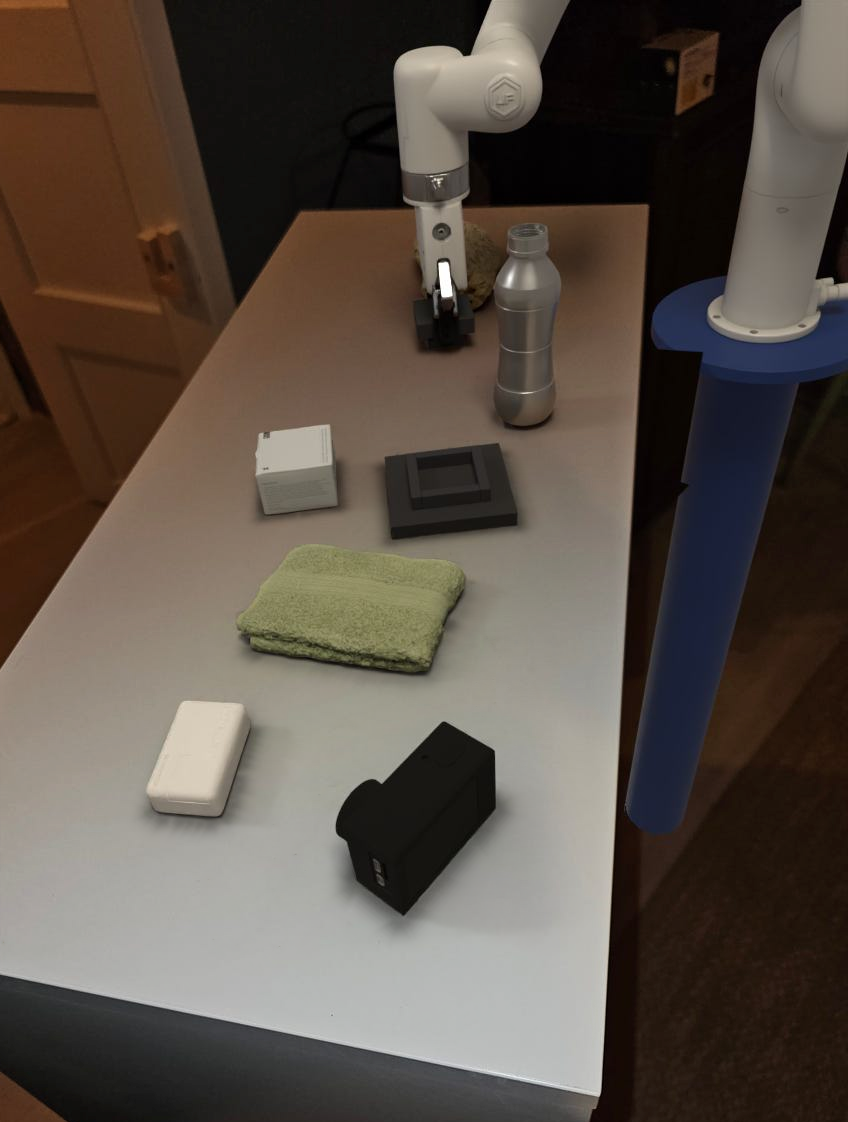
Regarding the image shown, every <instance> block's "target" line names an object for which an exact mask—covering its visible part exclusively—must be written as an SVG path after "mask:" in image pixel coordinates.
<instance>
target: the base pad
mask: <svg viewBox="0 0 848 1122" xmlns="http://www.w3.org/2000/svg"><path fill="white" fill-rule="evenodd" d="M505 464H506V463H505V461H504V456H503V452H502V449H501V445H500V442H493V443H485V444H474V445H466V446H458V447H450V448H442V449H433V450H425V451H417V452H410V453H409V452H407V453H404V454H396V455H387V456H384V467H385V476H386V488H387V498H388V509H389V520H390V530H391V537H392V540H399V539H407V538H416V537H425V536H433V535H441V534H449V533H459V532H467V531H468V532H469V531H475V530H484V529H494V528H501V527H510V526H518V509H517V506H516V502H515V498H514V494H513V490H512V487H511V483H510V480H509V476H508V471H507V468H506V465H505Z"/></svg>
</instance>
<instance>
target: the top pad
mask: <svg viewBox="0 0 848 1122" xmlns="http://www.w3.org/2000/svg"><path fill="white" fill-rule="evenodd" d="M456 299H457V311H458V312H459V327H460V344H459V345H458V346H457V347H460V346H465V335H469V334H471V335H472V334H475V333H476V325H475V324H476V323H475V320H476V319H475V315H474V310H472V307H471V304H470V300H469V297H468V293H465V294H457V295H456ZM439 301H441V297H438V304H439ZM412 308H413V318H414V324H415V329H416V335H417V340H418V341H423V340H426V341H425V342H426V344H427V350H436V349H438V348H435V347H434V339H433V323H432V316H434V307H433V298H427V299H426V298H419V299H413V300H412Z"/></svg>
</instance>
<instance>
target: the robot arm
mask: <svg viewBox="0 0 848 1122" xmlns="http://www.w3.org/2000/svg"><path fill="white" fill-rule="evenodd" d="M570 1H571V0H491V1H490V4H489V7H488V9H487V12H486V15H485V17H484V18H483V19H484V20H483V22H482V24H481V26H480V30H479V32H478V34H477V36H476V39H475V41H474V45H473V47H472V50H471V53H470V55H466V56H465V55H463V54H462V52H461V51H460V50H458V49H457V48H455V47H452V46H448V45H432V46H431V45H430V46H424V47H419V48H415V49H412V50H408V51H407V52H405V53H403V54H402V55H400V56H399V57H398V59H397V60H396V61H395V64H394V66H393V67H394V68H393V87H394V97H395V98H394V100H395V101H394V103H395V114H396V125H397V137H398V147H399V149H398V150H399V161H400V173H401V185H402V186H401V187H402V196H403V197H402V198H403V201H404V202H405V203H406V204H408V205H410V206H413V207H414V218H415V230H416V234H417V241H418V249H419V256H420V262H421V268H422V269H421V268H420V269H421V272H422V278H423V277H424V281H425V285H426V290H427V298H433V307H434V316H432V323H433V339H434V347H435V348H437V349H443V348H445V349H446V348H451V347H459V346H458V345H459V344H460V327H459V312H458V311H457V299H456V287H455V284H456V286H457V288H458V290H461V289H462V291H465V290H466V288H467V287H468V285H467V271H466V254H465V236H464V221H465V220H464V211H463V203H462V200H464V199H466V198H467V197H468V196H469V194H470V190H471V189H470V162H469V161H470V157H469V132H478V133H479V132H480V133H492V134H503V133H504V134H505V133H510V132H514V131H516V130H518V129H521V128H522V127H524V126H525V125H527V124H528V123H529V122H530V120H532V118H533V117H534V116H535V114H536V113H537V111H538V109H539V107H540V103H541V101H542V94H543V79H542V72H541V64H542V61H543V59H544V57H545V55H546V52H547V50H548V48H549V45H550V43H551V41H552V39H553V37H554V35H555V32H556V30H557V28H558V26H559V24H560V22H561V19H562V17H563V15H564V13H565V11H566V9H567V7H568V5H569V3H570ZM847 156H848V0H801V5H800V6H799V7H797V8H795V9H794V10H793V11H791V12H790V13H789V14H788V15H786V17H784V18H783V20H782V21H781V22H780V23H779V24H778V25H777V26H776V28H775V29H774V31H773V32H772V34H771V36H770V38H769V40H768V41H767V43H766V45H765V48H764V50H763V54H762V56H761V61H760V65H759V69H758V75H757V83H756V92H755V106H754V118H753V128H752V136H751V144H750V150H749V156H748V161H747V167H746V173H745V178H744V182H743V188H742V194H741V199H740V205H739V210H738V215H737V216H738V217H737V221H736V226H735V230H734V231H735V232H734V237H733V242H732V248H731V253H730V259H729V266H728V270H727V275H726V276H727V281H726V286H725V292H724V295H722V296H720V297H718V298H716V299H715V300H714V301H713V302H712V303H711V304H710V305H709V307H708V311H707V322H708V324H709V325H710V327H712V328H713V329H714V330H715V331H716V332H718V333H719V334H721V335H723V336H726V337H728V338H731V339H735V340H738V341H743V342H749V343H759V344H771V343H782V342H788V341H792V340H796V339H799V338H802V337H804V336H806V335H808V334H809V333H811V332H812V331H814V329H815V328H816V327H817V325H818V322H819V319H820V310H819V308H818V306H824V304H825V303H826V302H831V301H834V302H837V301H845V300H848V282H843V283H837V284H835V281H834V278H833V277H825V278H819V279H816V278H817V274H818V270H819V265H820V262H821V258H822V254H823V250H824V246H825V244H826V243H825V242H826V238H827V234H828V231H829V227H830V223H831V219H832V215H833V211H834V207H835V203H836V199H837V197H838V196H837V195H838V191H839V188H840V185H841V181H842V178H843V174H844V169H845V165H846V161H847ZM463 220H464V221H463ZM438 297H441V301H439V304H438Z"/></svg>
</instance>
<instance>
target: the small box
mask: <svg viewBox="0 0 848 1122" xmlns="http://www.w3.org/2000/svg"><path fill="white" fill-rule="evenodd" d="M332 435H333V434H332V429H331V425H330V424H329V423H328V424H318V425H311V426H304V427H297V428H288V429H281V430H272V431H266V432H265V431H264V432H259V433H258V435H257V447H256V450H255V452H254V453H255V454H254V456H255V459H256V463H255V476H254V477H255V480H256V485H257V489H258V492H259V497H260V500H261V505H262V508H263V513H264V514H265V515H277V514H286V513H294V512H301V511H309V510H315V509H316V510H317V509H325V508H332V507H333V508H334V507H337V506H338V505H339V500H338V499H339V498H338V481H337V480H338V477H337V459H336V453H335V447H334V441H333V440H334V439H333V436H332Z"/></svg>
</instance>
